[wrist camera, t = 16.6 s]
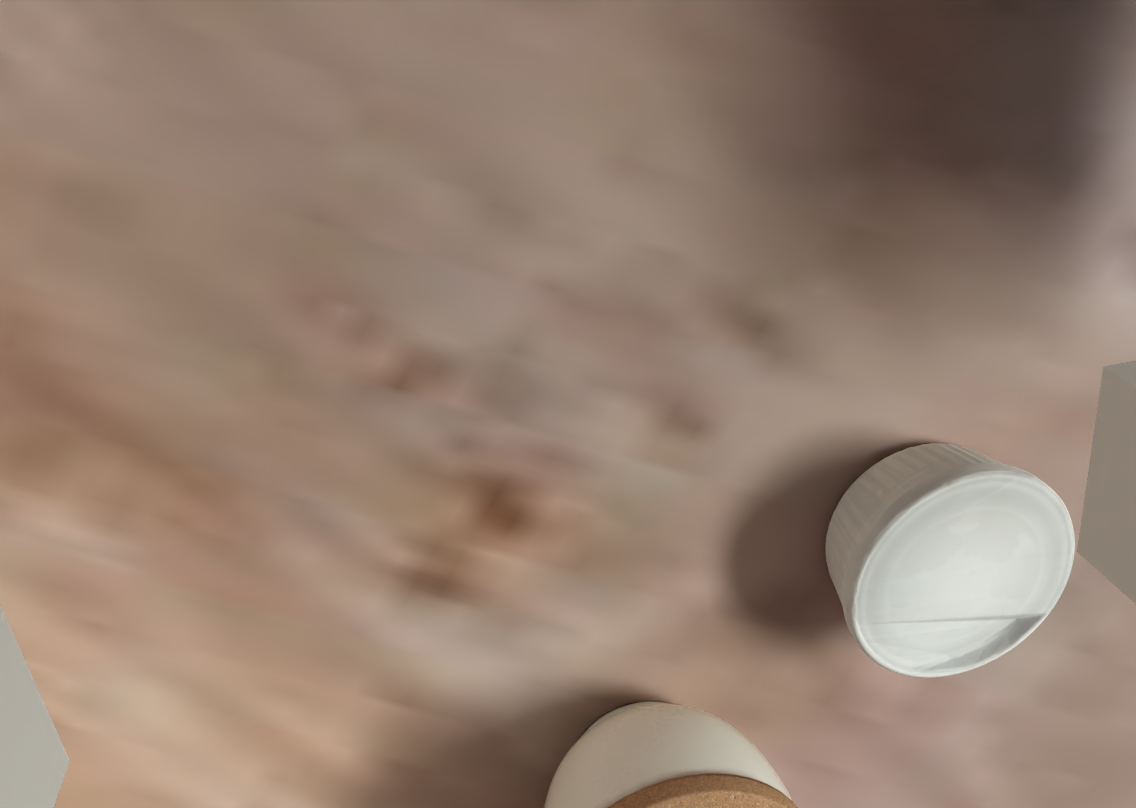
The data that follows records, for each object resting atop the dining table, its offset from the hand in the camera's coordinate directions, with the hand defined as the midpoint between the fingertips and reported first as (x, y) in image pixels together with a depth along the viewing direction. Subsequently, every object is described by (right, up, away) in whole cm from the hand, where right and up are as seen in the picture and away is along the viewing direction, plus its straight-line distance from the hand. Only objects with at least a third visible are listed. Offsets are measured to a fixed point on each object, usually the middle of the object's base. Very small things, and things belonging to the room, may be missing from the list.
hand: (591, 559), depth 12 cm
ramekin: (+17, -4, +39) cm, 43 cm away
